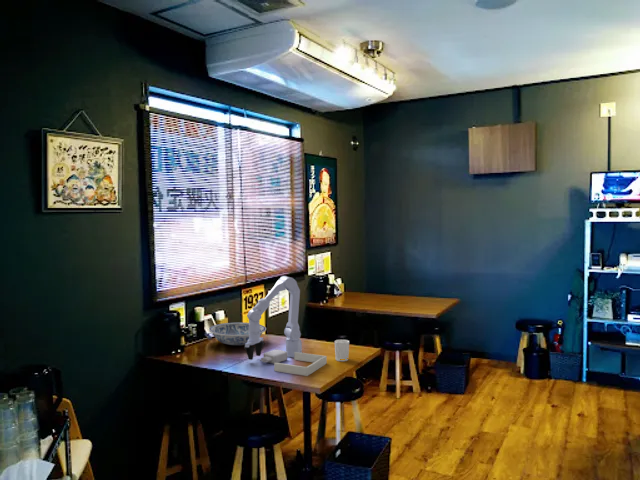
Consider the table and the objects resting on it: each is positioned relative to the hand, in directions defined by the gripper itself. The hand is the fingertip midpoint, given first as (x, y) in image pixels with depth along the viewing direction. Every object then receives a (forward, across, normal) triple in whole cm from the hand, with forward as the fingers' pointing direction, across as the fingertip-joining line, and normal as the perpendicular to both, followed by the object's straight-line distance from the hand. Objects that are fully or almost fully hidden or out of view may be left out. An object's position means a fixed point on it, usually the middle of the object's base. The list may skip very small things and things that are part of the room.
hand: (254, 357), depth 260 cm
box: (+2, 0, +28) cm, 28 cm away
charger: (+2, -2, +9) cm, 10 cm away
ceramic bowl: (+2, -25, -28) cm, 38 cm away
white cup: (+2, -21, +42) cm, 47 cm away
